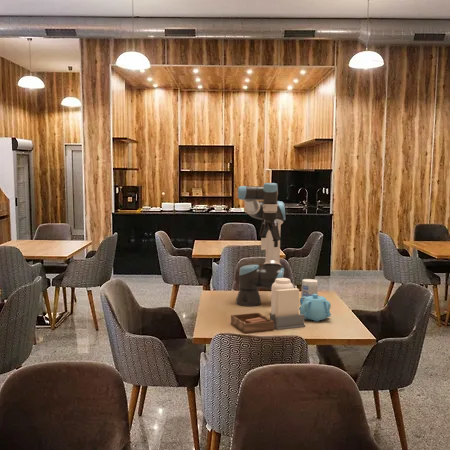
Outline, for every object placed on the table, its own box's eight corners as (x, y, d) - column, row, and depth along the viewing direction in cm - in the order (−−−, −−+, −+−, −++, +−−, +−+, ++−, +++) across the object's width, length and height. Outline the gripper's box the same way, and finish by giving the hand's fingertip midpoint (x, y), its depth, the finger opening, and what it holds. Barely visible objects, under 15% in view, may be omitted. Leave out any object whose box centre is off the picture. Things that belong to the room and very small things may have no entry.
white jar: (278, 309, 303) (279, 275, 301) (297, 313, 295) (298, 278, 293) (266, 313, 293) (267, 278, 291) (285, 318, 285) (286, 281, 283)
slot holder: (268, 324, 272) (268, 313, 271) (295, 321, 278) (295, 310, 277) (277, 329, 263) (277, 318, 262) (305, 326, 268) (305, 315, 268)
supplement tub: (301, 305, 312) (301, 281, 311) (300, 302, 322) (301, 278, 320) (317, 306, 311) (318, 282, 310) (316, 302, 320) (317, 279, 319)
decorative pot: (331, 323, 276) (332, 298, 275) (301, 322, 277) (302, 297, 275) (327, 315, 292) (328, 291, 291) (298, 314, 293) (299, 290, 292)
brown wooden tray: (230, 323, 272) (230, 315, 272) (258, 320, 278) (258, 312, 278) (244, 333, 256) (245, 324, 255) (274, 330, 262) (274, 321, 261)
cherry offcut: (245, 323, 264) (245, 319, 264) (259, 320, 269) (259, 317, 269) (252, 326, 259) (252, 322, 259) (266, 323, 264) (266, 320, 264)
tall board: (275, 324, 269) (275, 289, 268) (295, 321, 274) (296, 288, 272) (277, 325, 266) (278, 291, 265) (298, 323, 271) (299, 289, 269)
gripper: (253, 210, 288) (252, 248, 290) (274, 213, 265) (273, 255, 267) (265, 210, 291) (265, 248, 293) (287, 213, 268) (286, 254, 270)
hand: (269, 251), depth 280 cm, fingers open, 13 cm apart
